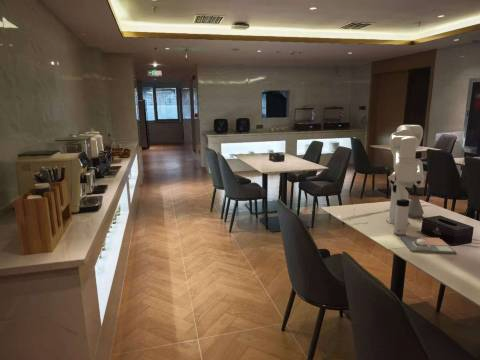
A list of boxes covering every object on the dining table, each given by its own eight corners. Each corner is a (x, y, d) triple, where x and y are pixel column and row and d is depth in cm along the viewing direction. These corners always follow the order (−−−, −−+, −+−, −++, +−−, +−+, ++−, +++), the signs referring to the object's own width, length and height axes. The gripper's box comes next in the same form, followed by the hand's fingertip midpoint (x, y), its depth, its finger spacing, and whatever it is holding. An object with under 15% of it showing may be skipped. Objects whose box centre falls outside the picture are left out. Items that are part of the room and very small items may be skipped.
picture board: (399, 238, 181) (400, 233, 180) (439, 239, 178) (440, 235, 177) (411, 251, 163) (411, 247, 163) (456, 253, 160) (456, 248, 160)
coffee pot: (426, 218, 212) (429, 195, 209) (408, 218, 212) (410, 195, 209) (411, 208, 233) (413, 187, 229) (394, 209, 233) (396, 187, 230)
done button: (415, 242, 168) (415, 238, 168) (423, 242, 167) (424, 239, 167) (418, 245, 164) (418, 241, 164) (426, 246, 164) (427, 242, 163)
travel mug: (399, 236, 182) (402, 201, 178) (391, 232, 188) (394, 198, 184) (409, 235, 184) (412, 200, 180) (400, 231, 190) (403, 197, 186)
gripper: (421, 160, 180) (418, 191, 183) (387, 159, 182) (385, 190, 186) (427, 162, 173) (423, 194, 176) (391, 161, 175) (389, 193, 179)
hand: (404, 192), depth 181 cm, fingers open, 9 cm apart
